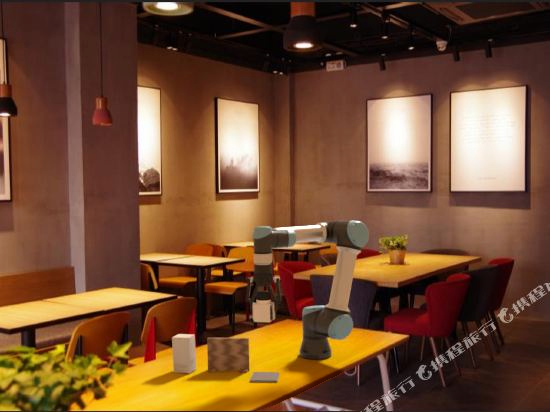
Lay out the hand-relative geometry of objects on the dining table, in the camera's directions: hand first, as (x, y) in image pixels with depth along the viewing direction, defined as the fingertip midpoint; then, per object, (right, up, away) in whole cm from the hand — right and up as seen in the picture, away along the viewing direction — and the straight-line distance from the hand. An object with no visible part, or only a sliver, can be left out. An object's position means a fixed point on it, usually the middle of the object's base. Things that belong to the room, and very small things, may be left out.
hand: (263, 318), depth 246 cm
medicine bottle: (0, -1, 0) cm, 1 cm away
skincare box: (-35, -25, +12) cm, 44 cm away
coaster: (0, -25, +1) cm, 25 cm away
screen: (-16, -25, +12) cm, 32 cm away
